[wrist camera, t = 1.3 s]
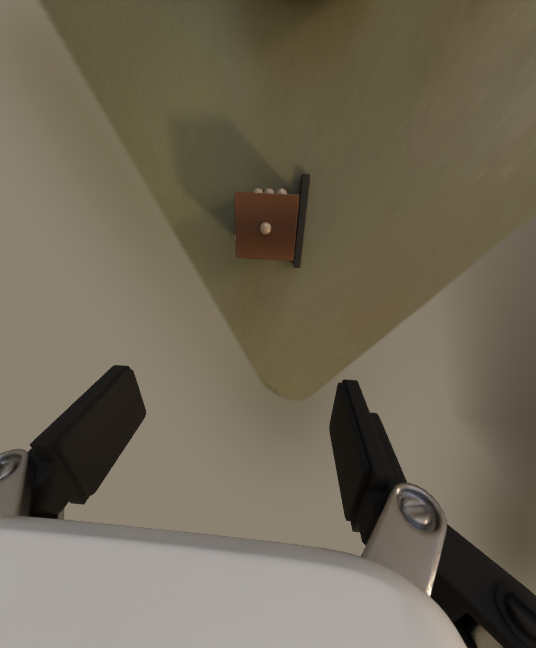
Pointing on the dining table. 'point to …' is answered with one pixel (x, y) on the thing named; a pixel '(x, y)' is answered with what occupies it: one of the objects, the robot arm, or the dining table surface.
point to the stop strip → (301, 219)
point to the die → (266, 224)
